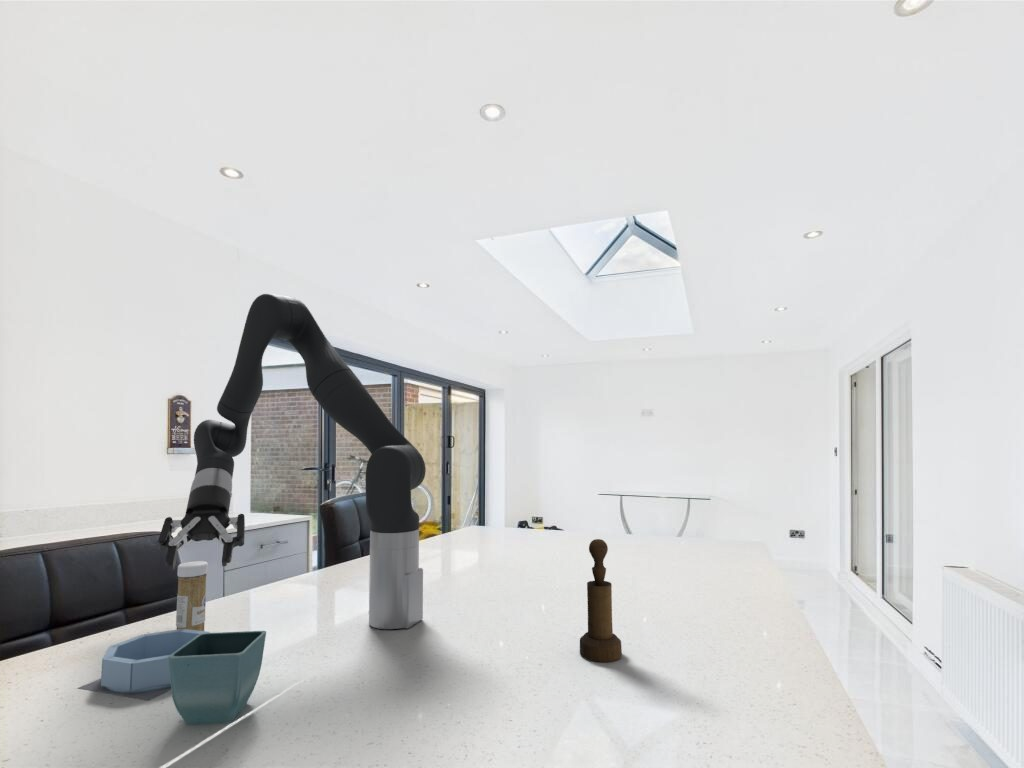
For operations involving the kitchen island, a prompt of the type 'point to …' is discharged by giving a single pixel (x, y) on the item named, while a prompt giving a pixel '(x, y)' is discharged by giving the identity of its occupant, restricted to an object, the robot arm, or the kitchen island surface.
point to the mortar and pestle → (599, 612)
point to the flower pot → (215, 675)
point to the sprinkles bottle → (191, 595)
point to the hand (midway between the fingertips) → (198, 565)
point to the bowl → (142, 661)
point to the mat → (143, 696)
